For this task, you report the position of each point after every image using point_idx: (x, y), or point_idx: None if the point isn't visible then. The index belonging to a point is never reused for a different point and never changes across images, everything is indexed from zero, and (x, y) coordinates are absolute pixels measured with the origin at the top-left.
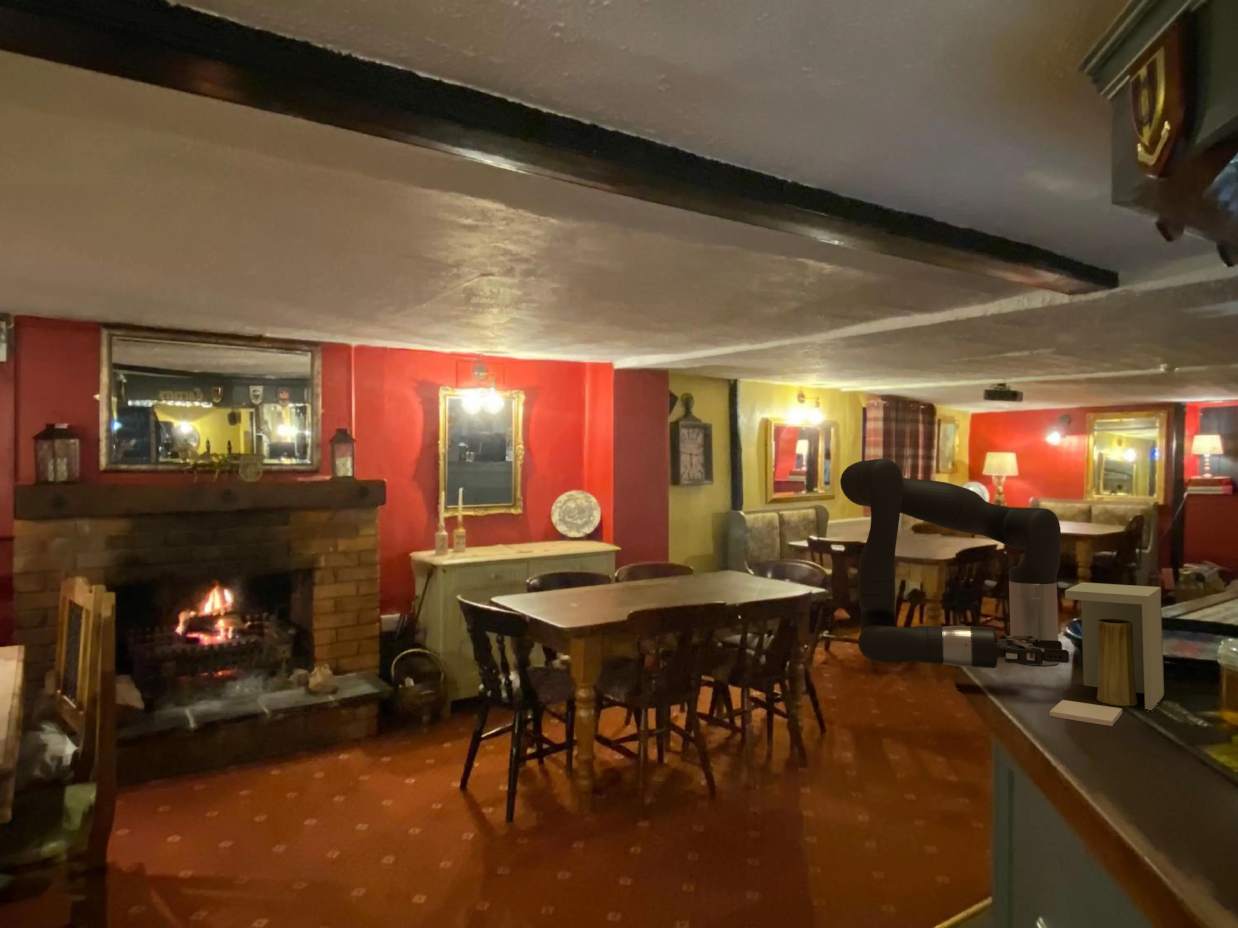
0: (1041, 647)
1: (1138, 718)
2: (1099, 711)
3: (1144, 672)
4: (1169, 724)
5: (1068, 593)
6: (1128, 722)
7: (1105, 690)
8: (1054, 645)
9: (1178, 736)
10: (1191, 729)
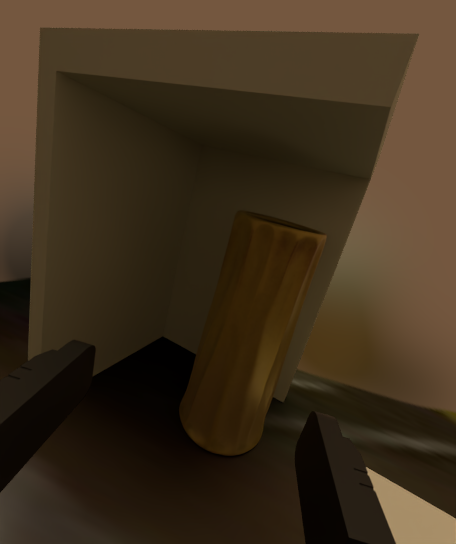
0: (9, 458)
1: (353, 443)
2: (407, 530)
3: (309, 335)
4: (363, 412)
5: (405, 72)
6: (407, 483)
7: (253, 422)
8: (72, 382)
9: (440, 437)
10: (373, 398)
